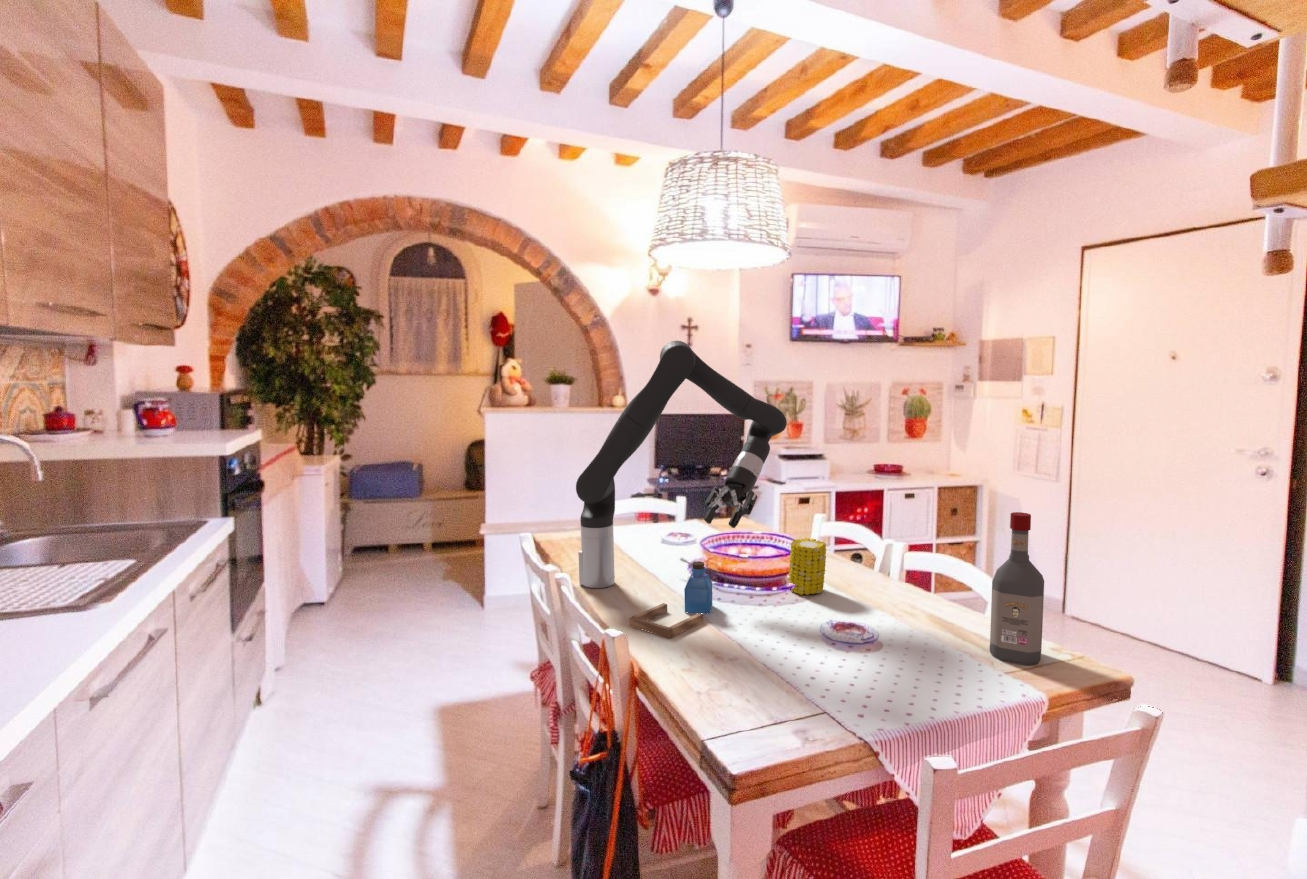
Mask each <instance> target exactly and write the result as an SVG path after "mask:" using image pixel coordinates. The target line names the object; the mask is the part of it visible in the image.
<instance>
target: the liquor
mask: <svg viewBox="0 0 1307 879" xmlns="http://www.w3.org/2000/svg"><path fill="white" fill-rule="evenodd" d="M1009 520H1010V523H1009V528H1010V529H1011V540H1010V543H1011V544H1010V553H1009V557H1008V559H1006V560H1005V562H1004V563H1003V564H1002V565H1000V566H999V567H998V568H997V569H996V571H995V573H994V576H993V578H992V580H991V603H990V604H991V606H990V608H991V609H990V634H989V635H990V637H989V638H990V639H989V652H990V654H991V656H992V657H994V658H996V659H998V660H999V661H1002V662H1005V663H1006V662H1007V663H1013V664H1017V665H1021V666H1032V665H1038V664H1039V662H1040V661H1041V656H1042V648H1043V647H1042V645H1043V644H1042V641H1043V623H1044V622H1043V618H1044V594H1045V579H1044V577H1043V576H1044V575H1042V573H1041V572H1040V571H1039V570H1038V569H1037V568H1036V566H1035V565H1034V564H1033V563H1032V562H1031V561H1030V556H1029V531H1031V529H1032V528H1031V526H1032V525H1031V524H1032V522H1031V521H1032V515H1031V514H1030V513H1027V512H1021V511H1017V512H1016V511H1015V512H1011V513H1010V518H1009Z"/></svg>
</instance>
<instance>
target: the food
mask: <svg viewBox="0 0 1307 879" xmlns="http://www.w3.org/2000/svg"><path fill="white" fill-rule="evenodd" d="M789 550H790V551H789V552H790V553H789V556H790V557H789V565H790V566H789V567H788V569H789V571H788V576H789V577H788V579H787V580H788V582H789V581H790V583H793V584H795V585H796V587H794V588H793V589H792V590H790V591H791V592H792V593H793V592H794V594H798V595H800V596H803V595H806V596H809V595H810V594H811V595H814V594H822V593H823V591H824V583H825V574H826V562H827V561H826V559H827V556H826V555H827V545H826V542H825V541H821V540H818V539H816V538H811V539H810V538H809V537H807V538H806V537H805V538H795V539H792V541H791V543H790V549H789Z"/></svg>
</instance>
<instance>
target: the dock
mask: <svg viewBox="0 0 1307 879" xmlns="http://www.w3.org/2000/svg"><path fill="white" fill-rule="evenodd" d="M667 613H668V604H667V603H664V602H663V603H660V604H659V605H655V606H654V607H651V608H649V609H646V610H644V611H642V612H640V613H637V614H636V615H633V616H631V617H629V618H628V625H629V627H632V628H635V629H637V630H641V629H643V630H642V631H644V630H646V631H645V632H647V631H649V632H648V633H650V632H652V633H651V634H653V633H654V635H657V636H661V637H664V638H667V639H672V638H673V637H675V636H678V635H680V634H681V633H684V632H686V631H688V630H690V629H692V628H694V627H696V626H698V625H700V624H702V623H703V622H704V614H701V613H698V614H696V613H695V614H694V615H692V616H689V617H687V618H685V619H683V620H680V621H679V622H677V623H675V624H673V625H671V626H666V625H662V624H659V623H656V622H653V621H649V620H651V619H655V618H657V617H659V616H661V615H663V614H667ZM647 620H648V621H647ZM685 630H686V631H685Z"/></svg>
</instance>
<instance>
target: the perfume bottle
mask: <svg viewBox="0 0 1307 879" xmlns="http://www.w3.org/2000/svg"><path fill="white" fill-rule="evenodd" d="M691 565H692V566H691V573H690V576H689V578H688V580H687V582H686V585H685V586H684V589H683V590H684V591H683V592H684V613H685V612H688V613H687V614H696V613H706V614H705V615H710V614H711V611H712V608H713V581H712V580H711V578H710V576H709V574H707V573H705V572H706V567H705V562H704V561H701V560H699V561H693V562H691ZM710 610H711V611H710ZM707 613H708V614H707ZM709 613H710V614H709Z"/></svg>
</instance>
